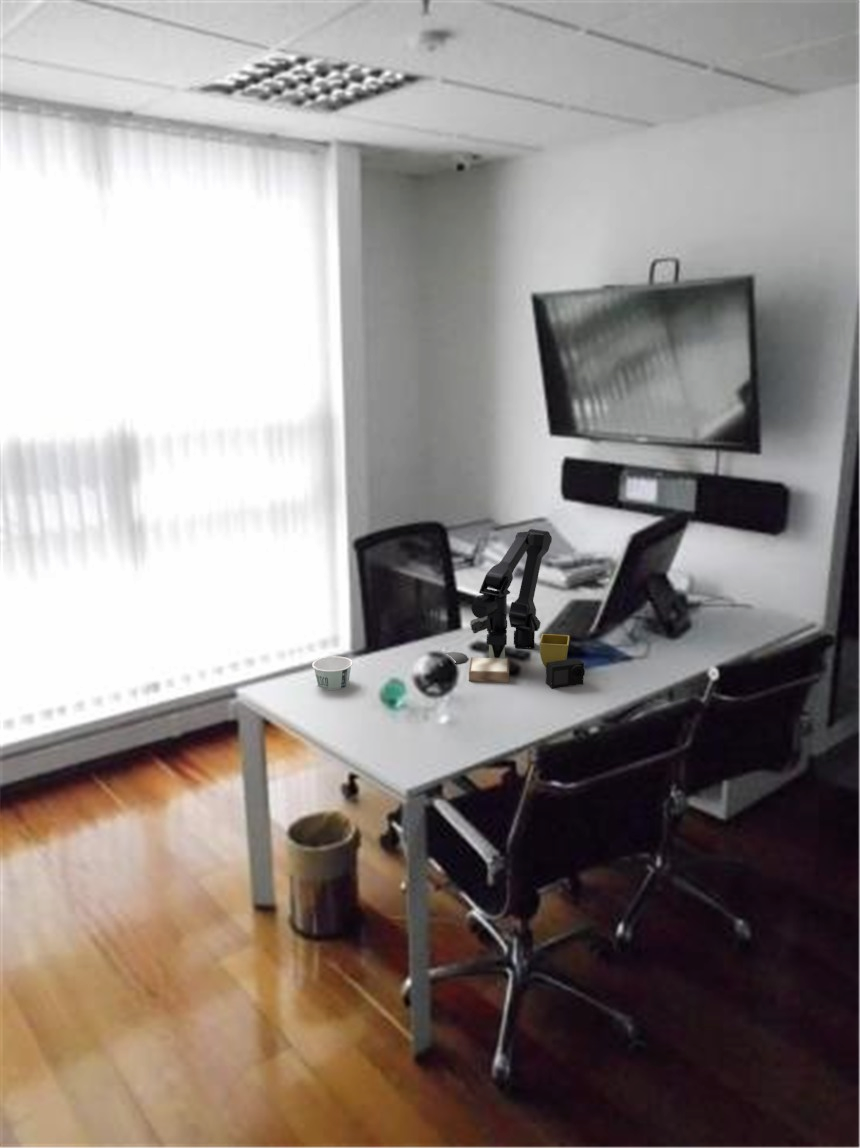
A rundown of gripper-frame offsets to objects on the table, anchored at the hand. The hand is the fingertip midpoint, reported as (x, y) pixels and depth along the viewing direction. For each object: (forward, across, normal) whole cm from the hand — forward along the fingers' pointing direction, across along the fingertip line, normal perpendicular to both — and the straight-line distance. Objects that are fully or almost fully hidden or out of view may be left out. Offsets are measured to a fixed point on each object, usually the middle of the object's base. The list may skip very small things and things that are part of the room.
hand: (496, 656), depth 281 cm
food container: (+2, +23, -49) cm, 54 cm away
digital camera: (+2, +19, +21) cm, 28 cm away
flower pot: (+2, +4, +18) cm, 18 cm away
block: (+1, 0, 0) cm, 1 cm away
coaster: (+1, 0, -14) cm, 14 cm away
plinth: (+1, +12, -2) cm, 12 cm away
